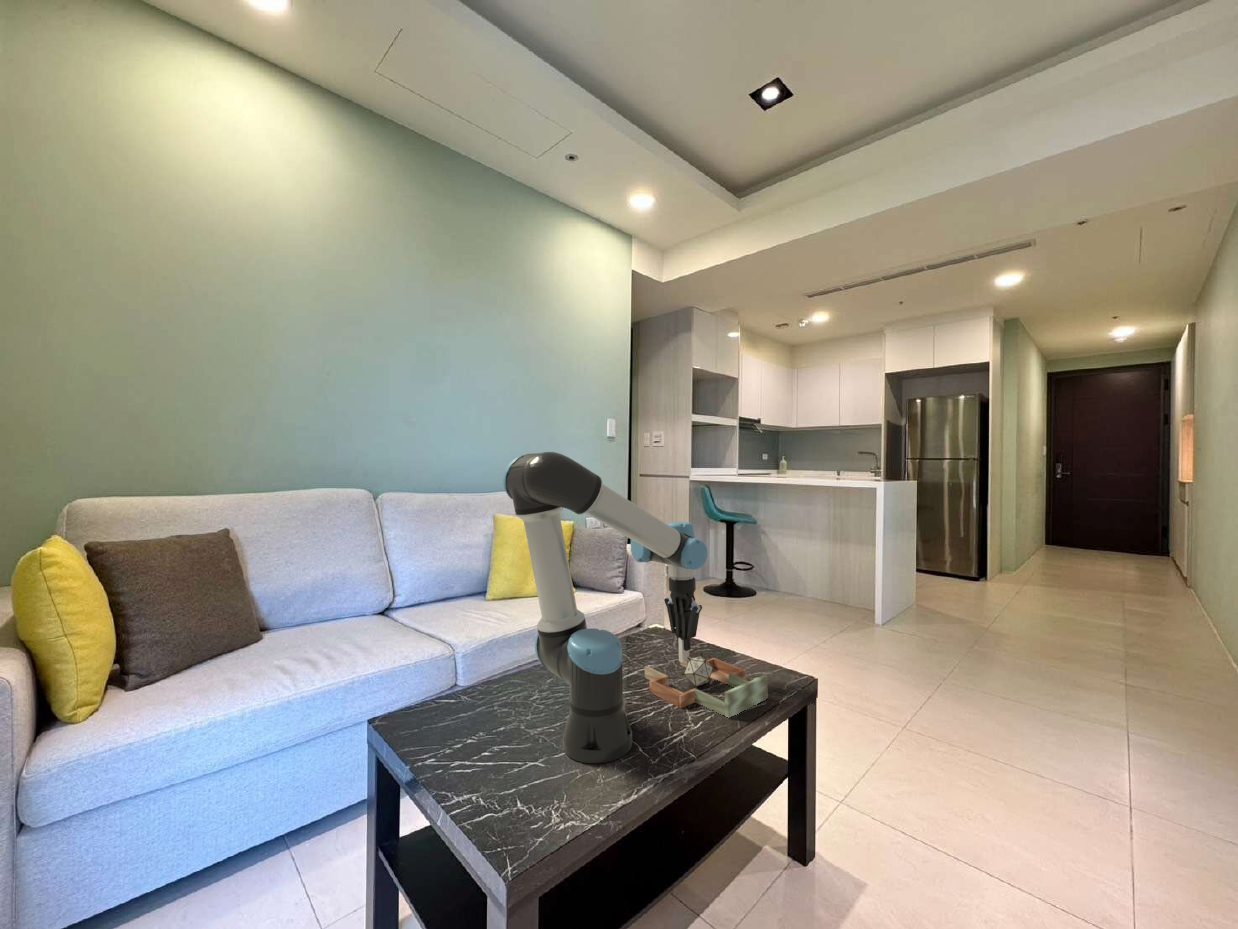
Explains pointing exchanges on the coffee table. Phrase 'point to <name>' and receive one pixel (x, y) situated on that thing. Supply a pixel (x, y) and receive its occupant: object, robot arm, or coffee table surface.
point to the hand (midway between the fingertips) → (684, 660)
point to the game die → (698, 670)
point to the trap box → (735, 698)
